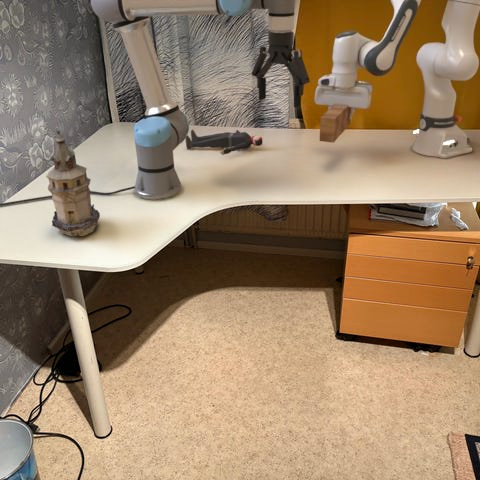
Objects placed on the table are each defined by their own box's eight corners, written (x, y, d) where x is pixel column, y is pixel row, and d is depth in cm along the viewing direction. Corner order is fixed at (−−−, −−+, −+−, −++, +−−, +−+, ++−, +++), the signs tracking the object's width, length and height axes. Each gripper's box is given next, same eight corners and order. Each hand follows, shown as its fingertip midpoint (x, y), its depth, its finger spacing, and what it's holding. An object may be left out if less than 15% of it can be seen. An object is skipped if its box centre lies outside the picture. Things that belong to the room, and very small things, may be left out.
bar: (333, 142, 184) (335, 118, 179) (319, 141, 185) (320, 117, 181) (350, 123, 201) (352, 101, 197) (337, 122, 203) (338, 100, 199)
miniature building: (80, 214, 164) (63, 117, 149) (111, 225, 157) (96, 125, 142) (44, 231, 154) (22, 130, 140) (75, 244, 147) (55, 139, 133)
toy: (197, 123, 225) (267, 123, 219) (198, 137, 228) (268, 138, 222) (178, 143, 203) (256, 144, 197) (180, 159, 206) (257, 160, 200)
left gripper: (323, 33, 154) (319, 106, 164) (255, 26, 168) (255, 94, 178) (309, 36, 149) (305, 112, 159) (240, 28, 163) (241, 98, 173)
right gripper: (375, 80, 189) (371, 118, 196) (319, 76, 197) (317, 113, 204) (371, 84, 184) (367, 123, 191) (313, 79, 192) (312, 117, 199)
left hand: (279, 102), depth 169 cm, fingers open, 13 cm apart
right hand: (341, 118), depth 197 cm, fingers closed on bar, 5 cm apart
